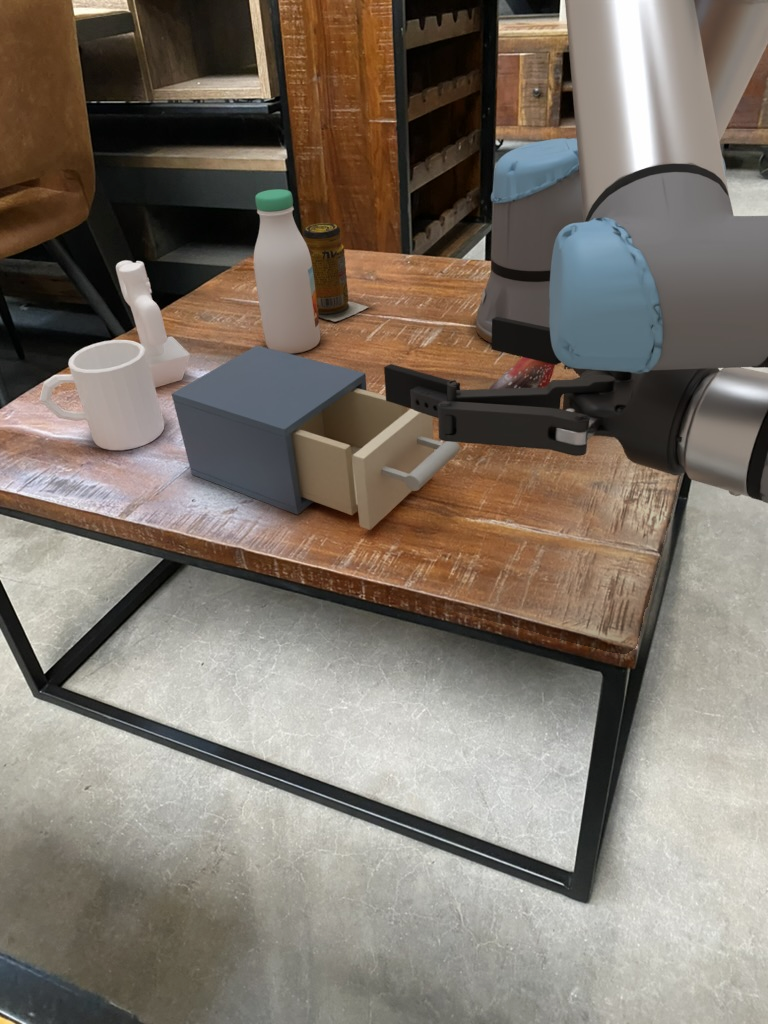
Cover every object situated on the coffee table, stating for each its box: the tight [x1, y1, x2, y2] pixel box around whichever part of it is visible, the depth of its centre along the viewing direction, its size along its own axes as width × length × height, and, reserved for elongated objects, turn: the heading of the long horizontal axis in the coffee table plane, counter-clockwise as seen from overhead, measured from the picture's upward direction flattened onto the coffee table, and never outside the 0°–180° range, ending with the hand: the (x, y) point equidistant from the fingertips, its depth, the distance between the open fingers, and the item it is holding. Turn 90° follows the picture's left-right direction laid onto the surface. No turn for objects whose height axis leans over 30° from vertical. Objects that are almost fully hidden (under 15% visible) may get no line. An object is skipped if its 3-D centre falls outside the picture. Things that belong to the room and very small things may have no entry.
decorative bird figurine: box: [489, 357, 556, 389], centre depth 81 cm, size 3×18×10 cm, turn 131°
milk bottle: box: [253, 188, 321, 355], centre depth 101 cm, size 8×8×20 cm
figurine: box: [115, 259, 191, 389], centre depth 96 cm, size 7×9×15 cm
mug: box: [39, 339, 165, 451], centre depth 86 cm, size 8×12×10 cm
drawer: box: [291, 388, 461, 531], centre depth 74 cm, size 18×11×8 cm, turn 56°
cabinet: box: [171, 345, 368, 516], centre depth 79 cm, size 15×13×10 cm
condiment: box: [302, 222, 369, 322], centre depth 113 cm, size 7×8×12 cm
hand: (444, 356), depth 62 cm, fingers open, 13 cm apart
